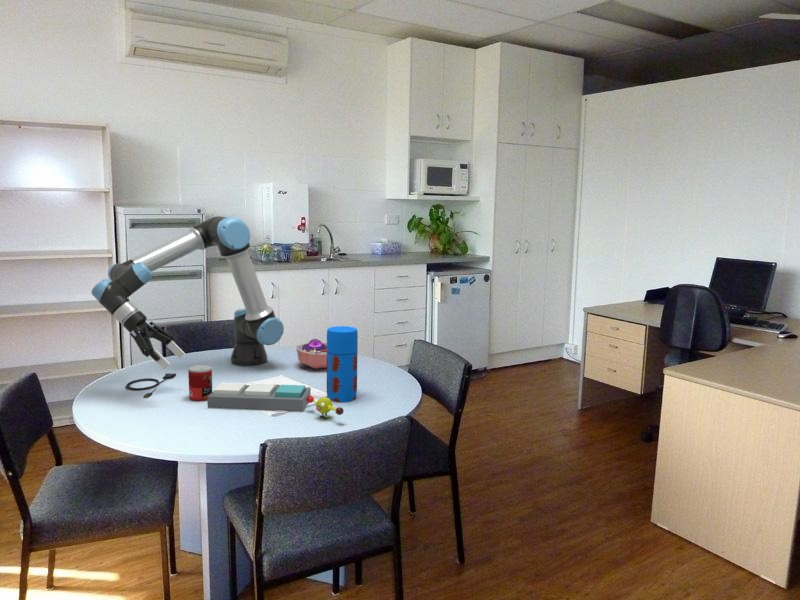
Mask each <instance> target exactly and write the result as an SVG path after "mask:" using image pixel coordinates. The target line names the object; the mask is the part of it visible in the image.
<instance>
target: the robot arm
mask: <svg viewBox="0 0 800 600" xmlns="http://www.w3.org/2000/svg"><path fill="white" fill-rule="evenodd" d="M250 239H251V231H250V228H249V226H248V225H247V224H246V223H245V222H244V220H241V219H240V218H237V217H234V216H228V217H227V216H226V217H225V216H219V215H218V216H213V217H210V218H208V219H206V220H204V221H202V222H200V223H198V224H196V225H193V226H192V227H190V228H189V230H188V231H187V232H185V233H183V234H181V235H179V236H177V237H175V238H173V239H170V240H169V241H166V242H164V243H162V244H160V245H157V246H156V247H154V248H152V249H149V250H147V251H145V252H143V253H140V254H139V255H137V256H135V257H133V258H131V259H128V260H126V261H123V262H122V263H119V262H118V263H113V264H112V265H110V267H109V268H108V271H107V277H108V278H104V279H102V280H100V281H98V283H96V284H95V285H94V286H93V288H92V289H91V295H92V296H93V297H94V298H95V300H97V302H98V303H99V304H100V305H101V306H103V308H104V309H105V310H106V311H108V313H110V314H111V316H113V317H114V318H115V320H116V321H117V322H119V323H120V324H122V327H124V328H125V329H126V331H128V332H129V335H130V336H131V338H133V340H134V342H135V343H136V345H137V346H138V348H139V350H140V353H142V355H143V356H145V357H147V358H149V357H150V358H152V359H153V360H154V361H155V362H156V363H157V364H158V365H159V367H161V368H162V370H165V369H166V368H167V367H168V366H169V365H170V364H171V363H170V362H169V361H168V360H167V359H166V358H165V357H164V355H162V354H161V353H160V352H159V351H158V350H157V349H154V346H153V344H152V341H151V339H154V340H156V341H159V342H161V343H163V344H164V345H166V347H167V348H168V349H169V350H170V352H172V353H173V354H174V355H175V356H176V357H177V358H178V359H179V360H180V359H181V358H182V357H184V356H185V355H186V353H185V352H184V351H183V349H182V348H180V347H179V346H178V345H177V344H176V342H175V341H174V340H175V337H174V336H173V335H172V334H170V333H168V332H167V331H165V330H164V329H162V328H161V327H159V326H158V325H156V324H155V323H154V322H153V321H150V322H146V321H147V316H146V315H145V314H144V312H142V311H141V310H139V308H138V306H136V304H134V303H133V302H132V301H131V300H130V299H129V298H130V297H131V296H132V295H133V294H134V293H136V292H138V290H139V289H141V288H142V287H143V286H145V285H146V284H148V282H149V281H151V279H152V278H153V272H154V271H156V270H158V269H160V268H162V267H165V266H166V265H168V264H170V263H173V262H175V261H177V260H178V259H181V258H183V257H185V256H187V255H189V254H192V253H193V252H195V251H197V250H198V251H199V250H201V251H203V250H206V249H207V248H211V247H217V249H218V251H219V253H220V256H221V257H222V258H224V259H226V260H227V263H228V266H229V268H230V270H231V272H230V273H232V277H233V279H234V282H235V285H236V287H237V290H238V292H239V296H240V297H241V301H242V303H243V306H244V308H241V309H240V308H239V309H237V310H235V311H234V316H233V317H234V318H233V321H234V347H233V350H232V353H231V357H230V363H231V364H232V365H237V366H241V367H242V366H245V367H246V366H247V367H250V366H252V367H253V366H258V365H264V364H265V363H267V362H268V354H267V351H266V349H265V346H273V345H275V344H277V343H278V342H279V341H280V340H281V339H282V336H283V334H284V329H285V328H284V323H283V322H282V321H281V320H280V319H279V318H277V317H276V314H275V311H274V310H273V309H274V308H273V307H272V306H270V305H268V303H267V301H266V298H265V295H264V292H263V290H262V287H261V284H260V281H259V279H258V275H257V273H256V271H255V268H254V267H255V266H254V264H253V261H252V260H251V256H250V253H249V250H250V249H251V245H250ZM264 345H265V346H264Z"/></svg>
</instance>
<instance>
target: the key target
mask: <svg viewBox="0 0 800 600" xmlns="http://www.w3.org/2000/svg"><path fill="white" fill-rule="evenodd" d="M279 386H280V387H279V388H278V389H277V391H276V392H275V397H298V398H301V397H302V396H303V394H304V392H305V387H306V385H305V384H304V385H302V384H301V385H300V384H298V385H297V384H280V385H279Z"/></svg>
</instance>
